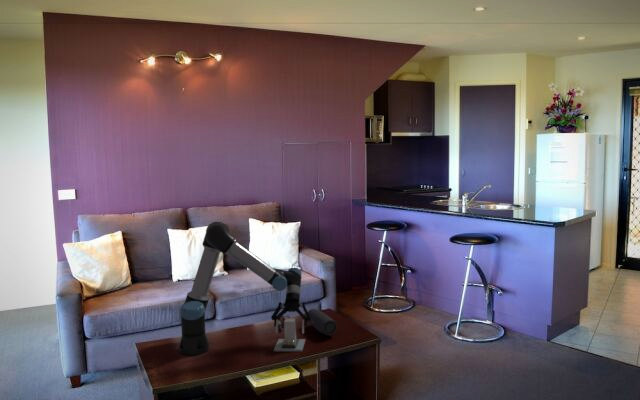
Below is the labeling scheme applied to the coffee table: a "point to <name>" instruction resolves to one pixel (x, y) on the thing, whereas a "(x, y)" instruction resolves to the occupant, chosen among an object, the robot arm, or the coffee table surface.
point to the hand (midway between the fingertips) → (289, 332)
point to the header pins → (288, 344)
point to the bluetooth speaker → (322, 322)
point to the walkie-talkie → (282, 321)
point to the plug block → (290, 330)
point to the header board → (298, 344)
